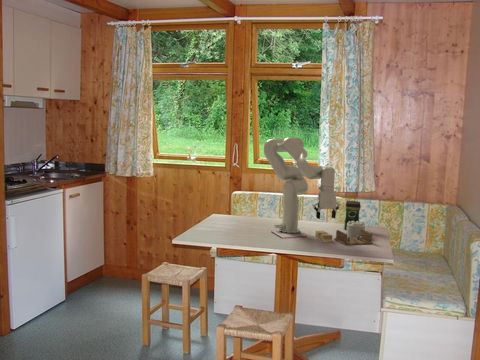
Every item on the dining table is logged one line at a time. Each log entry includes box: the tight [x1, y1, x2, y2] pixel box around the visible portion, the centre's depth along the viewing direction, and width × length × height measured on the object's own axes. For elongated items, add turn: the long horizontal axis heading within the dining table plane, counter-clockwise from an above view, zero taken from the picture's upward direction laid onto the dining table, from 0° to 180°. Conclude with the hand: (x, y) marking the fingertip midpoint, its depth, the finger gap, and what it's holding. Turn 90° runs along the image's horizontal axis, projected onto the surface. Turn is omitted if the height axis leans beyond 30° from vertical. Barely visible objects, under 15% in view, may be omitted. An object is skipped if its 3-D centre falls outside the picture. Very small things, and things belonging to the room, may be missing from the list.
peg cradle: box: [334, 229, 374, 246], centre depth 285 cm, size 18×12×6 cm, turn 108°
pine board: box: [315, 230, 333, 243], centre depth 288 cm, size 12×5×4 cm, turn 15°
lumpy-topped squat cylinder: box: [346, 220, 366, 238], centre depth 302 cm, size 10×13×9 cm
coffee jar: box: [343, 200, 361, 231], centre depth 318 cm, size 10×8×19 cm
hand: (325, 218), depth 287 cm, fingers open, 9 cm apart
